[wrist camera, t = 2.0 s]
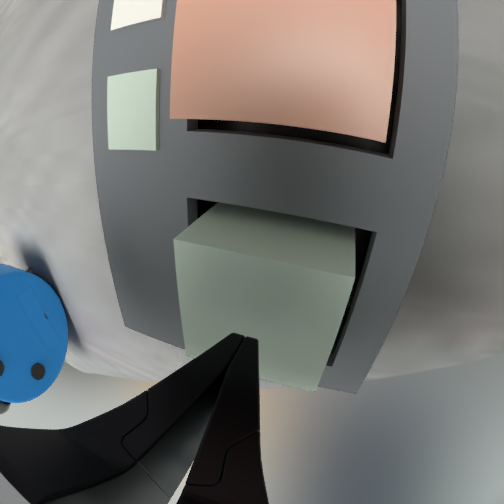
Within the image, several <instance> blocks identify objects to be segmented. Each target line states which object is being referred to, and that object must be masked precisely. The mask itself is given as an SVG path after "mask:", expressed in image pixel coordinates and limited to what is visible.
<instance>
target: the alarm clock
mask: <svg viewBox="0 0 504 504" xmlns="http://www.w3.org/2000/svg"><path fill="white" fill-rule="evenodd" d="M30 269H31V268H30V267H28V268H27V269H26V271H23V270H21V269H18V268H15V267H12V266H9V265H5V264H0V414H3V413H5V412H7V410H8V409H9V407H10V404H11V403H21V402H26V401H30V400H32V399H34V398H36V397H38V396H40V395H41V394H42V393H44V392H45V391H46V390H47V389H48V388H49V387H50V386H51V385H52V383H53V382H54V381H55V379H56V378H57V376H58V374H59V372H60V370H61V368H62V366H63V363H64V360H65V356H66V352H67V345H68V326H67V319H66V315H65V311H64V308H63V306H62V303H61V301H60V299H59V297H58V296H57V294H56V293H55V291H54V290H53V289H52V288H51V286H50V285H49V284H48V283H46V282H45V281H44V280H43V279H41V278H40V277H38V276H36V275H34V274H32V273H29V272H30Z"/></svg>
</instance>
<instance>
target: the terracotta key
mask: <svg viewBox="0 0 504 504" xmlns="http://www.w3.org/2000/svg"><path fill="white" fill-rule="evenodd" d="M395 46H396V0H177V4H176V13H175V23H174V35H173V49H172V65H171V87H170V119H210V120H231V121H245V122H258V123H268V124H278V125H287V126H295V127H302V128H309V129H316V130H322V131H329V132H335V133H340V134H346V135H351V136H356V137H361V138H366V139H371V140H375V141H380V142H384V143H386V136H387V129H388V122H389V114H390V106H391V97H392V88H393V77H394V63H395Z"/></svg>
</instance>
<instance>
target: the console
mask: <svg viewBox="0 0 504 504" xmlns="http://www.w3.org/2000/svg"><path fill="white" fill-rule="evenodd" d="M176 4H177V0H99V4H98V11H97V18H96V27H95V37H94V49H93V65H92V131H93V149H94V162H95V173H96V182H97V191H98V199H99V206H100V213H101V220H102V226H103V232H104V238H105V243H106V248H107V254H108V259H109V263H110V268H111V273H112V277H113V281H114V286H115V290H116V294H117V298H118V302H119V306H120V309H121V313H122V317H123V320H124V324H125V327H128V328H130V329H133V330H135V331H137V332H140V333H142V334H145V335H147V336H150V337H153V338H155V339H158V340H160V341H163V342H166V343H168V344H171V345H174V346H177V347H179V348H182V349H185V345H184V337H183V330H182V322H181V314H180V305H179V296H178V287H177V277H176V266H175V254H174V241H173V239H174V238H175V237H176V236H178V235H179V234H180V233H181V232H182V231H184V230H185V229H186V228H187V227H188V226H190V225H191V224H192V223H193V222H194V221H196V220H197V219H198V216H197V199H201V200H207V201H214V202H220V203H226V204H232V205H239V206H245V207H250V208H256V209H262V210H268V211H273V212H279V213H284V214H290V215H295V216H300V217H306V218H311V219H316V220H321V221H326V222H331V223H336V224H341V225H346V226H350V227H355V228H360V229H364V230H369V231H372V234H371V238H370V242H369V246H368V250H367V253H366V257H365V260H364V264H363V267H362V271H361V274H360V278H359V281H358V284H357V288H356V291H355V294H354V297H353V300H352V303H351V306H350V309H349V312H348V315H347V318H346V320H342V321H341V324H340V327H339V330H338V333H337V336H336V339H335V342H334V344H333V347H332V350H331V353H330V355H329V358H328V361H327V363H326V366H325V369H324V371H323V374H322V376H321V379H320V381H319V384H318V387H323V388H328V389H333V390H338V391H343V392H349V393H355V394H356V393H357V391H358V390H359V388H360V386H361V384H362V383H363V381H364V379H365V377H366V375H367V374H368V372H369V370H370V368H371V366H372V364H373V362H374V360H375V359H376V357H377V355H378V353H379V351H380V349H381V347H382V345H383V343H384V341H385V339H386V337H387V334H388V332H389V330H390V328H391V326H392V324H393V321H394V319H395V317H396V315H397V313H398V310H399V308H400V306H401V303H402V301H403V298H404V296H405V294H406V291H407V289H408V286H409V284H410V281H411V278H412V276H413V273H414V270H415V268H416V265H417V262H418V259H419V257H420V254H421V251H422V248H423V245H424V242H425V239H426V236H427V232H428V229H429V226H430V222H431V219H432V216H433V212H434V208H435V205H436V201H437V197H438V193H439V189H440V185H441V181H442V177H443V172H444V168H445V163H446V158H447V153H448V147H449V142H450V136H451V129H452V123H453V115H454V107H455V98H456V87H457V74H458V43H459V39H458V9H457V0H401V45H400V63H399V77H398V88H397V97H396V106H395V114H394V122H393V129H392V136H391V142H390V149H389V154H388V155H387V154H383V153H378V152H374V151H369V150H365V149H360V148H355V147H350V146H344V145H339V144H334V143H328V142H322V141H316V140H309V139H302V138H295V137H288V136H280V135H271V134H262V133H252V132H240V131H227V130H210V129H198V119H170V87H171V65H172V49H173V35H174V23H175V13H176Z"/></svg>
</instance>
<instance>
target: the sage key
mask: <svg viewBox="0 0 504 504" xmlns="http://www.w3.org/2000/svg"><path fill="white" fill-rule="evenodd" d="M173 241H174V254H175V266H176V277H177V287H178V296H179V305H180V314H181V322H182V330H183V337H184V345H185V352H186V356H188V357H191V358H194V359H195V358H196V357H198V356H199V355H200V354H202V353H203V352H205V351H206V350H208V349H209V348H211V347H212V346H214V345H215V344H216V343H218V342H219V341H221V340H222V339H224V338H225V337H226V336H228V335H229V334H231V333H238V334H241V335H244V336H245V337H246V336H249V337H252V338H256V339H258V341H259V379H263V380H267V381H270V382H274V383H278V384H282V385H286V386H291V387H295V388H299V389H304V390H309V391H313V392H315V391H316V389H317V386H318V384H319V381H320V379H321V376H322V374H323V371H324V369H325V366H326V363H327V361H328V358H329V355H330V353H331V350H332V347H333V344H334V342H335V339H336V336H337V333H338V330H339V327H340V324H341V321H342V318H343V315H344V312H345V309H346V306H347V303H348V300H349V297H350V293H351V290H352V287H353V284H354V280H355V227H350V226H346V225H341V224H336V223H331V222H326V221H321V220H316V219H311V218H306V217H300V216H295V215H290V214H284V213H279V212H273V211H268V210H262V209H256V208H250V207H245V206H239V205H232V204H226V203H220V202H218V203H217V204H216V205H214V206H213V207H212V208H211V209H209V210H208V211H207V212H206V213H204V214H203V215H202V216H201V217H199V218H198V219H197V220H196V221H194V222H193V223H192V224H191V225H190V226H188V227H187V228H186V229H185V230H184V231H182V232H181V233H180V234H179V235H178V236H176V237H175V238H174V239H173Z"/></svg>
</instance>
